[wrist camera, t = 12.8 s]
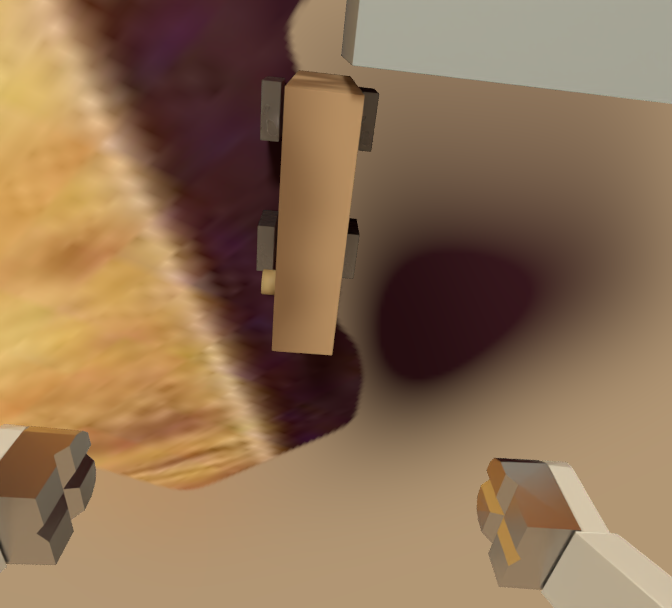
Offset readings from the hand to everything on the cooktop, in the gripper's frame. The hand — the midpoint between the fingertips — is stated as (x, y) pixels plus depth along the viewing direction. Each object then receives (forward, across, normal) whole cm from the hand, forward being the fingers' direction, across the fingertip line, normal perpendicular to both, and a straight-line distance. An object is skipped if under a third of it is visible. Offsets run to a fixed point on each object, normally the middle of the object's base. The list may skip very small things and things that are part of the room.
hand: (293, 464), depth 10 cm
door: (+23, 0, 0) cm, 23 cm away
